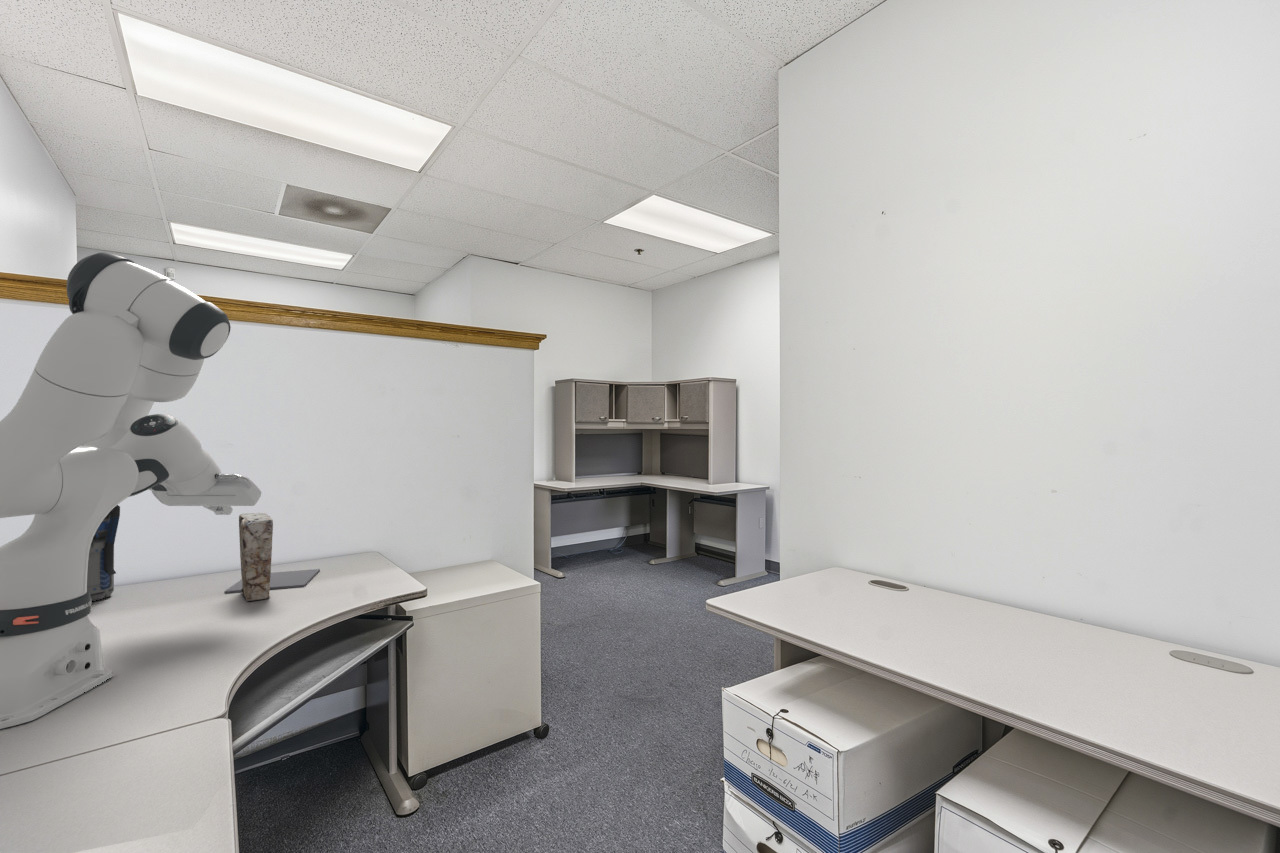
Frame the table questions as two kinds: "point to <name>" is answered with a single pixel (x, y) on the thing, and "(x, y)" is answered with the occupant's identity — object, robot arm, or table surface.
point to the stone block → (255, 554)
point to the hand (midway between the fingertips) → (225, 512)
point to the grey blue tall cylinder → (103, 557)
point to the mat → (282, 580)
